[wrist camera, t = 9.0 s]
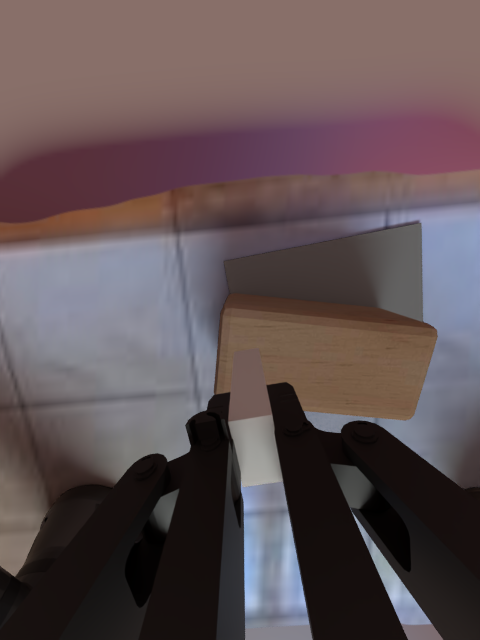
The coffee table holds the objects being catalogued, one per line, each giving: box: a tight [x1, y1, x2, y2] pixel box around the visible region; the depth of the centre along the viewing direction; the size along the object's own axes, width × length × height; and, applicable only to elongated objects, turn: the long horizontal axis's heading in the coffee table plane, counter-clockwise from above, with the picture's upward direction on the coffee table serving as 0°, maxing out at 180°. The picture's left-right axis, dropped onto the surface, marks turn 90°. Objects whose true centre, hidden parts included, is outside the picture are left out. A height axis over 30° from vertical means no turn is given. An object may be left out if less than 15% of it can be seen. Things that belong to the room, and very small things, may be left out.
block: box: [214, 293, 438, 420], centre depth 27 cm, size 10×10×20 cm
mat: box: [224, 223, 423, 322], centre depth 31 cm, size 24×14×1 cm, turn 101°
